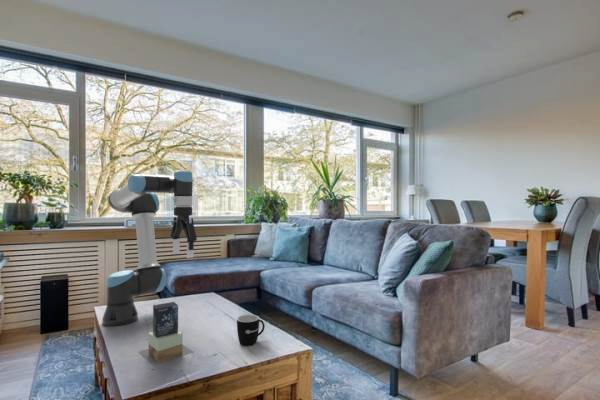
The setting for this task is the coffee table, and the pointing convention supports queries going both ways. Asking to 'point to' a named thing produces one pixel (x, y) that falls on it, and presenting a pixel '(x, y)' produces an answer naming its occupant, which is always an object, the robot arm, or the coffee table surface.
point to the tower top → (165, 340)
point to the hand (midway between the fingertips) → (182, 255)
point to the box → (165, 319)
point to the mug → (248, 329)
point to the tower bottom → (165, 353)
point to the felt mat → (146, 355)
